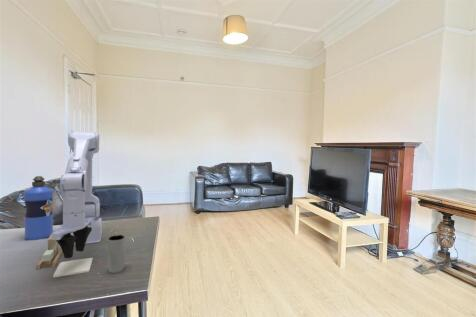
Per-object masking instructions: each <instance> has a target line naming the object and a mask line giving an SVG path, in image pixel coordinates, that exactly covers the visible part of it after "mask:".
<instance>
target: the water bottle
mask: <svg viewBox="0 0 476 317" xmlns="http://www.w3.org/2000/svg"><path fill="white" fill-rule="evenodd" d="M31 186H32V187H30V188H29V189H27V190H25V191H23V200H24V205H25V214H24V240H26V241H36V240H37V241H39V240H42V239H47V238H49V237H50V235H51V234H52V233H53V232H54V226H53V225H54V217H53V209H52V206H53V205H52V203H53V199H54V198H53V197H54V189H52V188H49V187H46V181H45V178H44V177H43V176H42V175H37V176H35V177H34V178H33V179H32V182H31Z"/></svg>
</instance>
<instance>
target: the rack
mask: <svg viewBox="0 0 476 317" xmlns="http://www.w3.org/2000/svg"><path fill="white" fill-rule="evenodd" d="M61 256H63V251H62V249H61V248H60V249H59V250H58V254H57V255H56V257H55V259H54V260H53V262H52V265H51V268H55V267H56V265H57V264H58V262H59V260H60V258H61ZM42 267H43V256H42V258H41V259H40V260H39V262H38V263H37V264H36V270H40V269H41V268H42Z"/></svg>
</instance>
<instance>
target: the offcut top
mask: <svg viewBox="0 0 476 317" xmlns="http://www.w3.org/2000/svg"><path fill="white" fill-rule="evenodd" d="M53 256H54V249H53V250H48V249H46V251H44V253H43V254H42V257H43V262H44V261H51V259H52V258H53Z"/></svg>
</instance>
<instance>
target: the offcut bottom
mask: <svg viewBox="0 0 476 317" xmlns="http://www.w3.org/2000/svg"><path fill="white" fill-rule="evenodd" d="M53 260H54V256H53V258H52V259H51V261H44V262H43V265H42V268H48V267H52V262H53Z"/></svg>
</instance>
